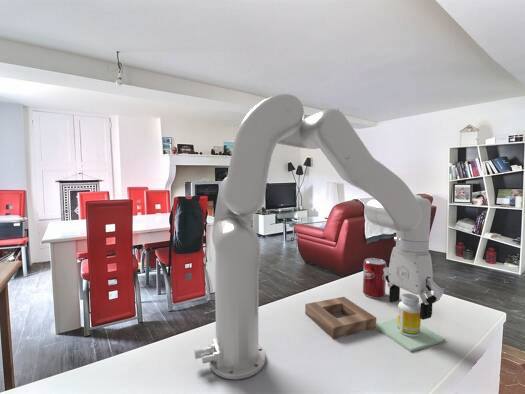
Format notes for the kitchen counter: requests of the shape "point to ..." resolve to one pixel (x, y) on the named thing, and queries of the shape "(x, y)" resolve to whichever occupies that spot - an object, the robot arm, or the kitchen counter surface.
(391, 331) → the place mat
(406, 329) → the supplement bottle
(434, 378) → the kitchen counter surface
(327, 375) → the kitchen counter surface
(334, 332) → the block
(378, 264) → the soda can
